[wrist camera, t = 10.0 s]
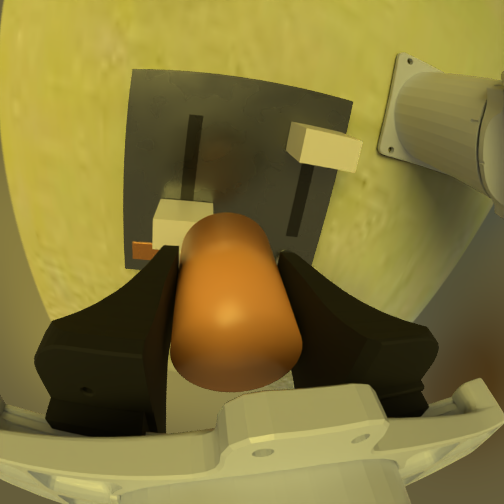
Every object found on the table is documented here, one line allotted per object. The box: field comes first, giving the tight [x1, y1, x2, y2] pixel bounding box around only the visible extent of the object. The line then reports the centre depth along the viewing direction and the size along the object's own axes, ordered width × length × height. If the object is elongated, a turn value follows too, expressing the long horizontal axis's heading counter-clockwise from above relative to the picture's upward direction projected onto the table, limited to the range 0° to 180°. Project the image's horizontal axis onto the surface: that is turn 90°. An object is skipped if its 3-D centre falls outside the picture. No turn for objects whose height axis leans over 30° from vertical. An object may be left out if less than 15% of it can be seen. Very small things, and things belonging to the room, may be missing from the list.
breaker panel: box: [123, 69, 353, 270], centre depth 19 cm, size 13×13×2 cm
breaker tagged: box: [152, 199, 213, 251], centre depth 18 cm, size 3×2×3 cm, turn 81°
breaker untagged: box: [286, 121, 363, 173], centre depth 16 cm, size 3×2×3 cm, turn 81°
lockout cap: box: [170, 212, 302, 392], centre depth 12 cm, size 4×4×6 cm
